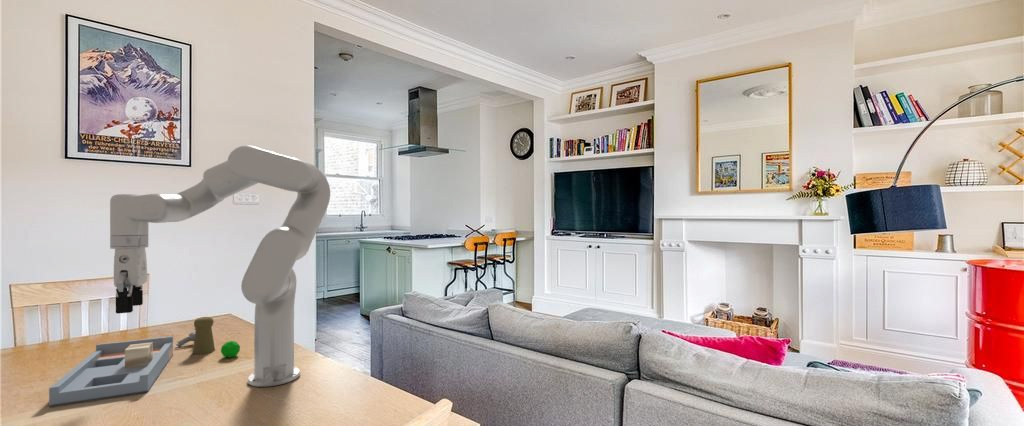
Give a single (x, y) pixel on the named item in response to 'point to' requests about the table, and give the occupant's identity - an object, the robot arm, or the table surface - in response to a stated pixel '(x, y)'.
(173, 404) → the table surface
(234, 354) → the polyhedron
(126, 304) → the robot arm
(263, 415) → the table surface
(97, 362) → the box
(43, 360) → the table surface
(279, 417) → the table surface
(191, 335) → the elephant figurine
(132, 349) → the maple block
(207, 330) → the cork
